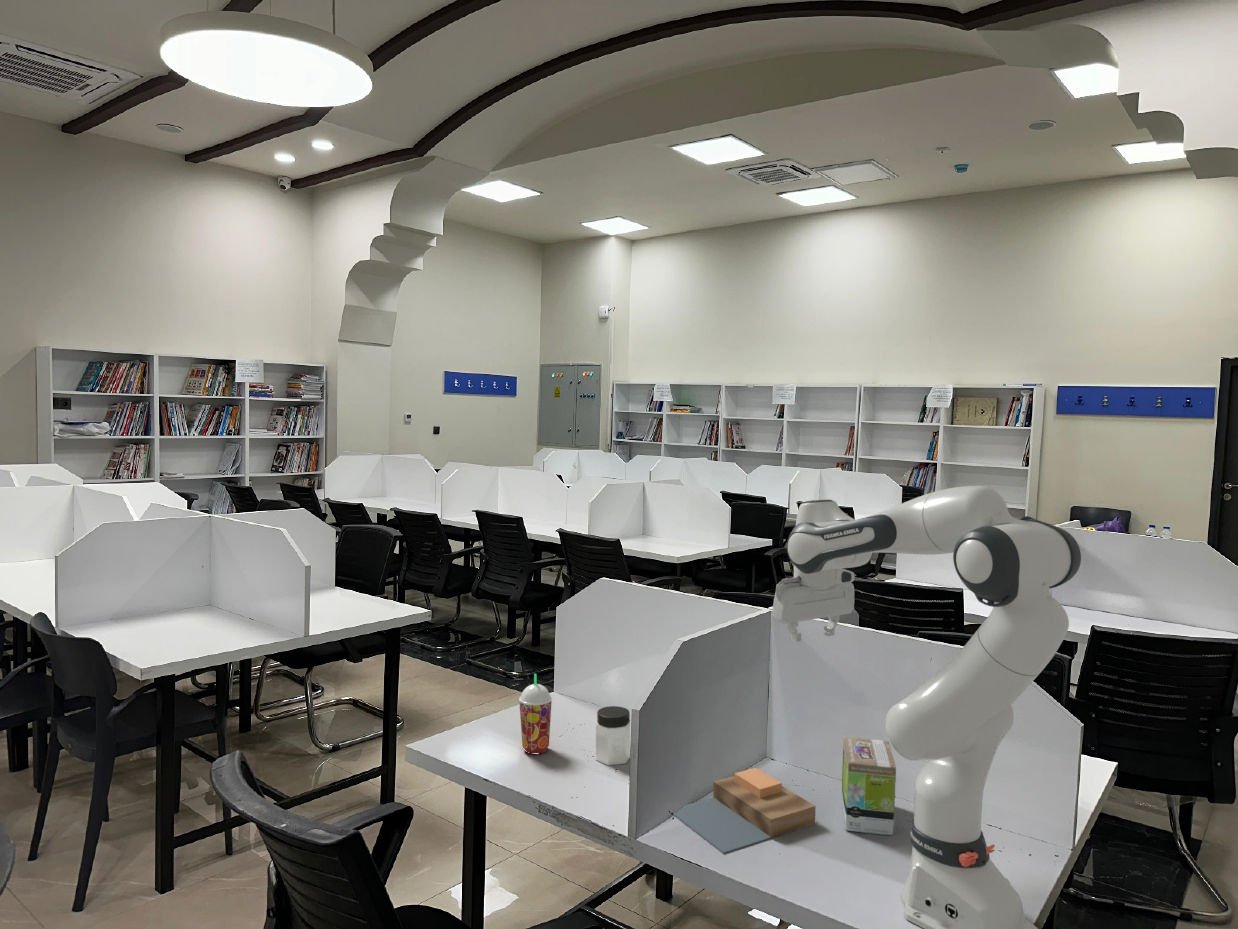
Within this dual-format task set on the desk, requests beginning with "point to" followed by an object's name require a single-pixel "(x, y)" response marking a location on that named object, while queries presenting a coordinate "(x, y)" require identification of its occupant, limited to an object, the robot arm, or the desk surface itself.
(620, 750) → the jar
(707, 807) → the mat
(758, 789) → the orange rectangular block
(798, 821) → the board
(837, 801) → the desk surface
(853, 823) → the tea box
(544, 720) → the smoothie
